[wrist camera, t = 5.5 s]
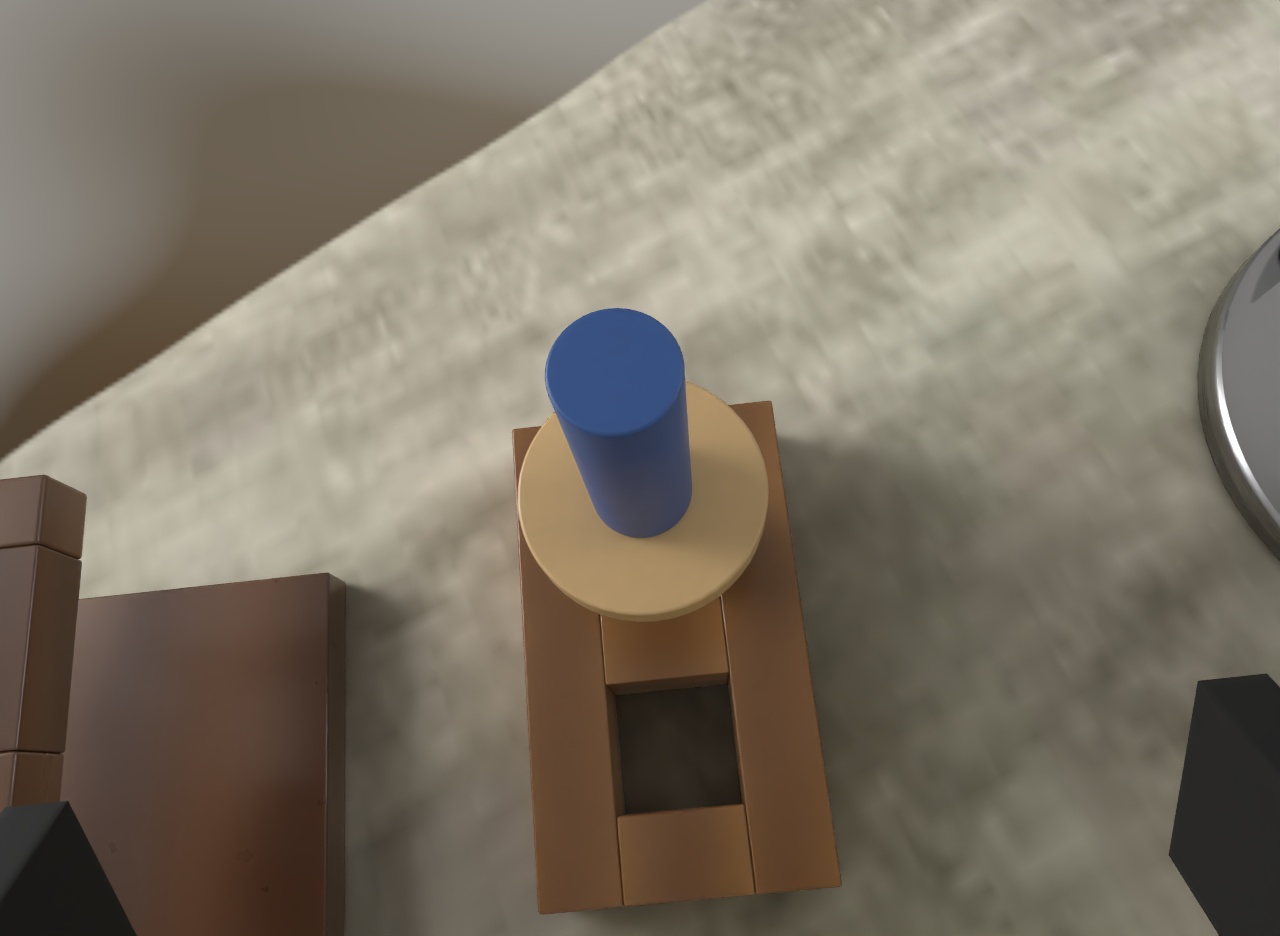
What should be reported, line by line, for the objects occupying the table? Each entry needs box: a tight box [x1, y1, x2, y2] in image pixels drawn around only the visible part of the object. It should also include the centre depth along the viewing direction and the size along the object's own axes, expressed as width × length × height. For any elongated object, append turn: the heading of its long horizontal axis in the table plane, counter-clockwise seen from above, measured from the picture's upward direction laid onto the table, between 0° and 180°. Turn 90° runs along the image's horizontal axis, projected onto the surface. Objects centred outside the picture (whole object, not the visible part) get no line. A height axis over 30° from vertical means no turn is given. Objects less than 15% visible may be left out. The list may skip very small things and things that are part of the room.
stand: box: [0, 475, 345, 936], centre depth 24 cm, size 12×12×12 cm
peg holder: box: [512, 401, 842, 915], centre depth 29 cm, size 8×13×3 cm, turn 5°
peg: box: [518, 308, 769, 622], centre depth 24 cm, size 6×6×15 cm
